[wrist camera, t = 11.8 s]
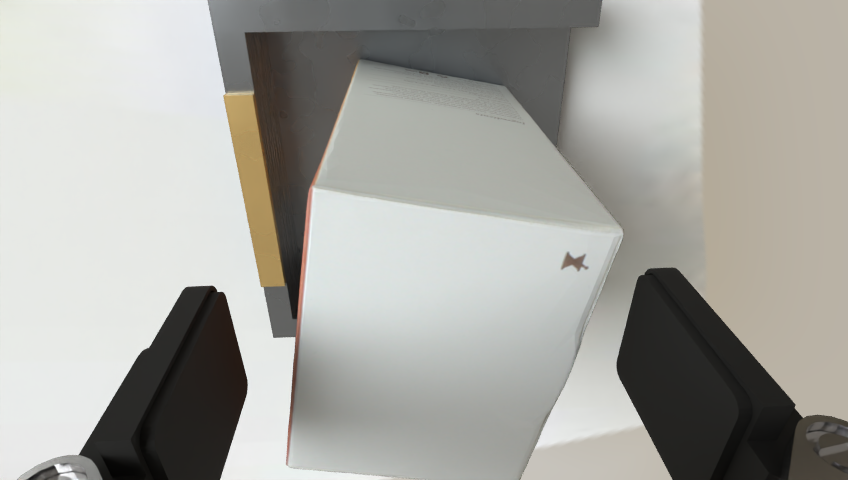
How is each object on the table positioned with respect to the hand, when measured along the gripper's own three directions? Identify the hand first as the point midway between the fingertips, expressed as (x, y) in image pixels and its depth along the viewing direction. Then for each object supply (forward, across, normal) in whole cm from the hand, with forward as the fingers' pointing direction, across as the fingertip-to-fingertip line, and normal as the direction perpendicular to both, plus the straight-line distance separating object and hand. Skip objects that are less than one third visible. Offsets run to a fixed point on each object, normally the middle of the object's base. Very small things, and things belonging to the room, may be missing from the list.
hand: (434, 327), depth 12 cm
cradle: (+13, 0, +1) cm, 13 cm away
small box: (+12, 0, +1) cm, 12 cm away
